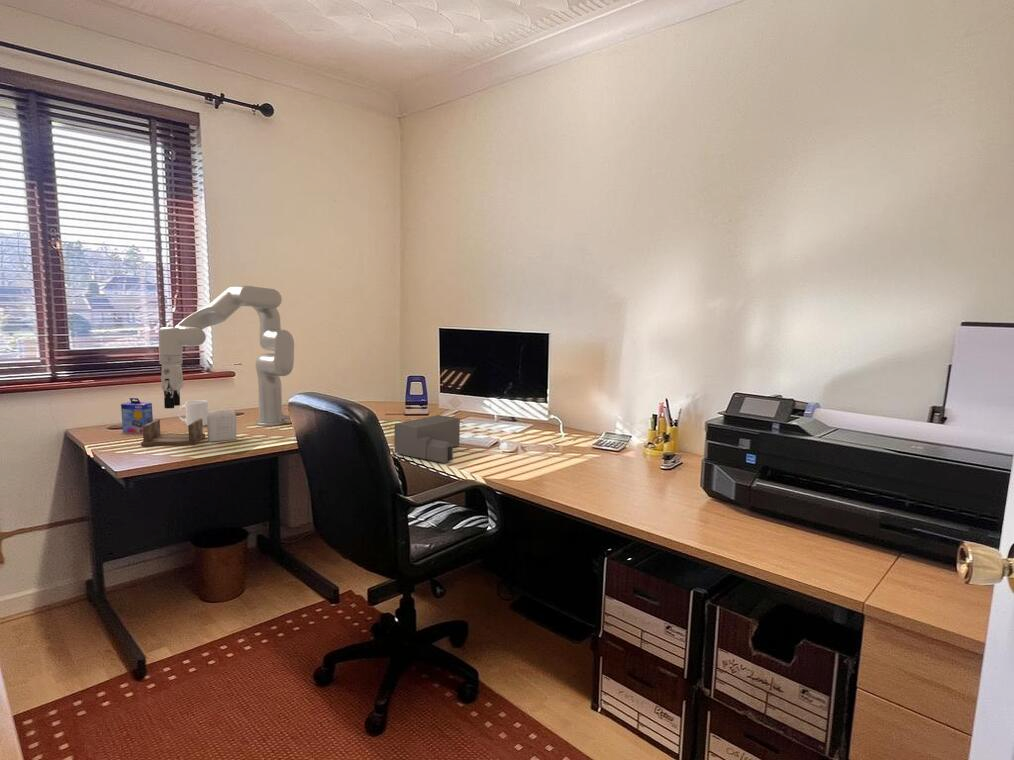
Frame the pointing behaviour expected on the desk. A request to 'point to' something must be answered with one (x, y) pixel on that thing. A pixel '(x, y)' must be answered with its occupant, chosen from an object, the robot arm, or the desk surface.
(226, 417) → the photo printer
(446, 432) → the grey stepped block
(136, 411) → the ink cartridge box
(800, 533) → the desk surface
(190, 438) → the walnut rack
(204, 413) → the mug
